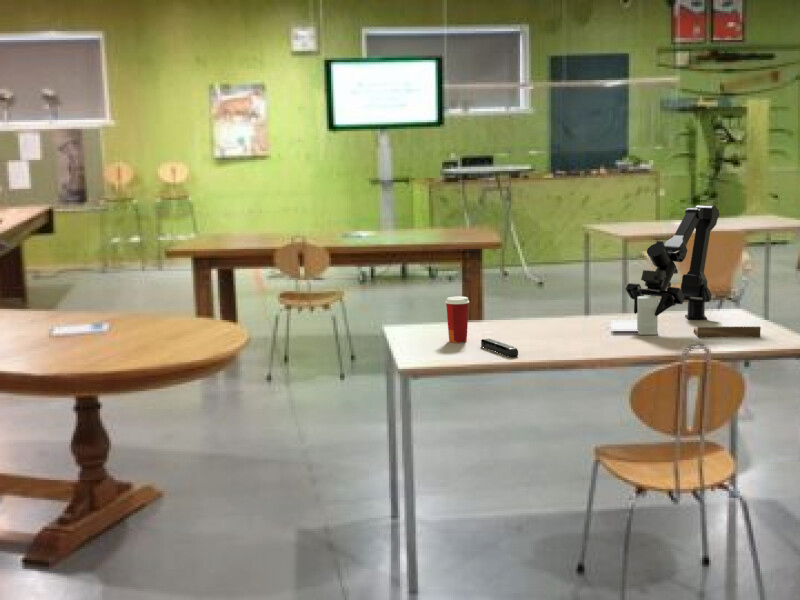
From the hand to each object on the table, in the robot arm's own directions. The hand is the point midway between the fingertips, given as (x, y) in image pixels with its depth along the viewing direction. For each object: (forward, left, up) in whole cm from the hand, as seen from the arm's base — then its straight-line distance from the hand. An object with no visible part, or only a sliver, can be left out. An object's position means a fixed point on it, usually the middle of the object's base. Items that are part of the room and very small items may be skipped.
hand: (645, 314), depth 321 cm
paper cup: (+10, -60, -7) cm, 61 cm away
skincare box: (-1, +1, -7) cm, 7 cm away
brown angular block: (+1, +25, -7) cm, 26 cm away
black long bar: (+26, -46, -7) cm, 54 cm away
